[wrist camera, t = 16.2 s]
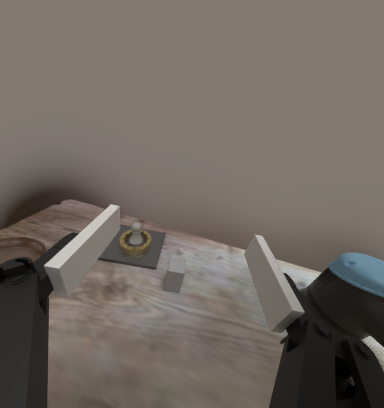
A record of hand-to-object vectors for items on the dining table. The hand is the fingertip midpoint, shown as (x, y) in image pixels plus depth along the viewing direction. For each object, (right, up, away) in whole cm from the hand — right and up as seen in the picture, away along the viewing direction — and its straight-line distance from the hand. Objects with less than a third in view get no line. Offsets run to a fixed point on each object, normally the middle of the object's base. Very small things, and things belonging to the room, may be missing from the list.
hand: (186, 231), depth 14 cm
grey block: (-5, -19, +26) cm, 33 cm away
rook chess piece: (-18, -10, +34) cm, 40 cm away
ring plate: (-18, -11, +34) cm, 40 cm away
